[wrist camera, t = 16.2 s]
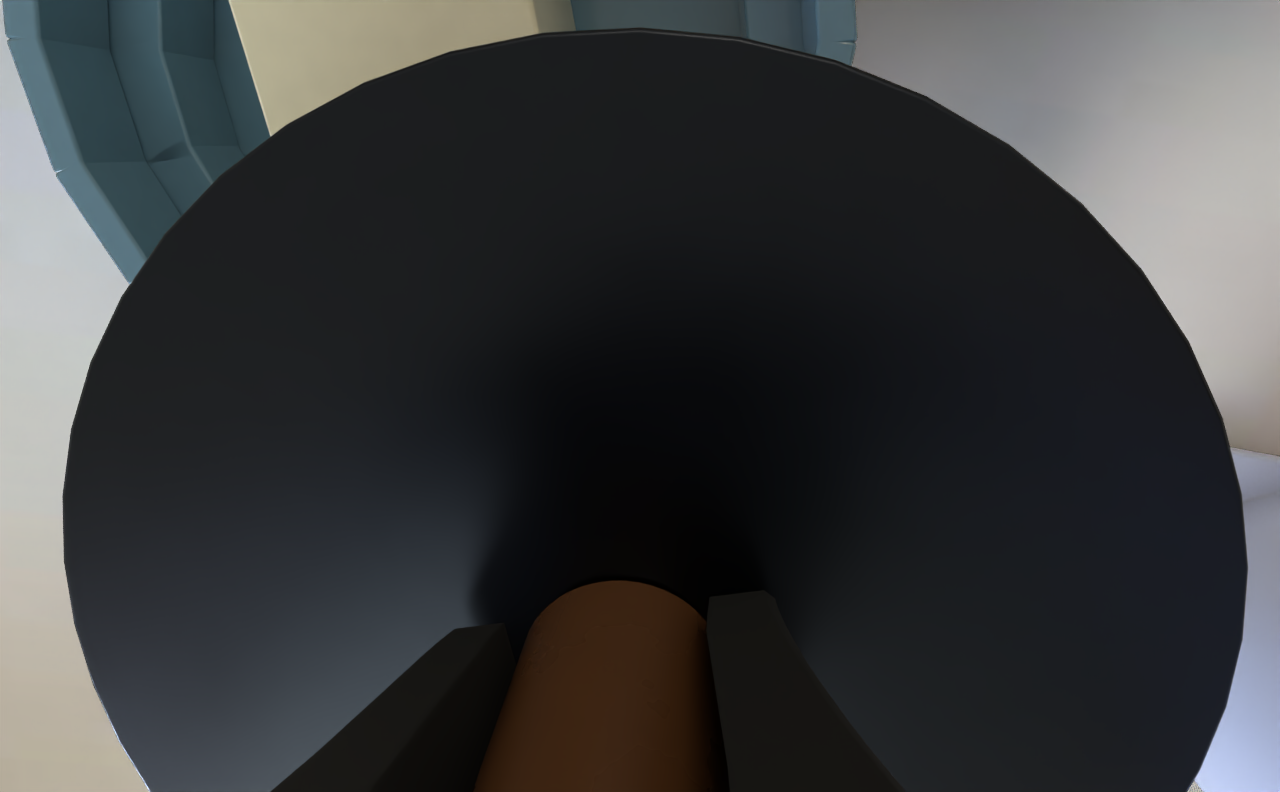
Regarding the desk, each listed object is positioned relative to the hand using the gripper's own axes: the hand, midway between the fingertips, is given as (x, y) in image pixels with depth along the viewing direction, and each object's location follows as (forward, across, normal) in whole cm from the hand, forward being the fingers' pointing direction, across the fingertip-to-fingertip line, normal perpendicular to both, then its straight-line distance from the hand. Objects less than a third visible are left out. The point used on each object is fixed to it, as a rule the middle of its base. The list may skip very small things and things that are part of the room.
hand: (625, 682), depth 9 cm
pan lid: (+1, 0, 0) cm, 1 cm away
